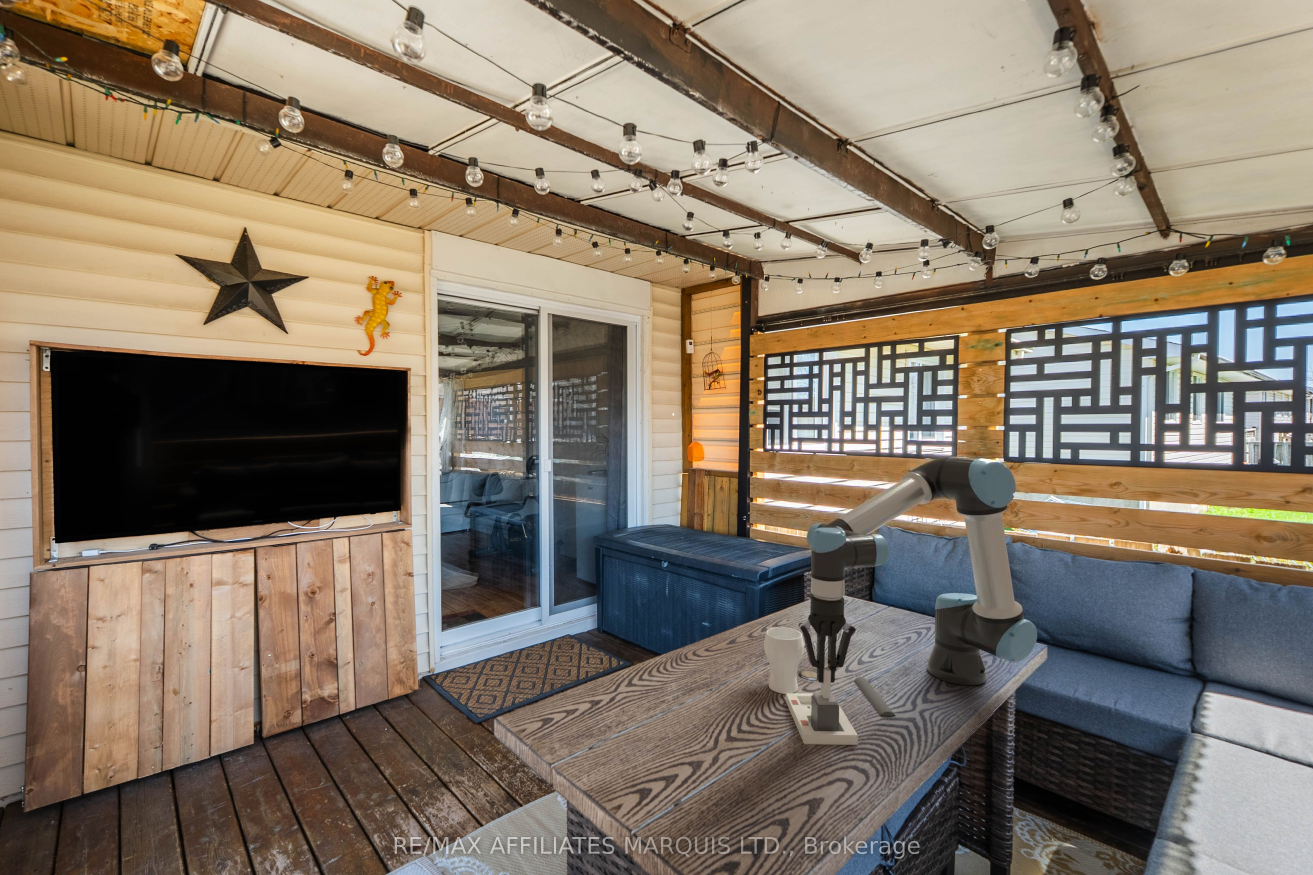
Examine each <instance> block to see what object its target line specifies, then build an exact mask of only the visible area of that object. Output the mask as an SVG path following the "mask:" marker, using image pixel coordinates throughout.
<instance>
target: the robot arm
mask: <svg viewBox="0 0 1313 875" xmlns="http://www.w3.org/2000/svg"><path fill="white" fill-rule="evenodd" d="M1016 486H1017V485H1016V480H1015V477H1014V475H1013V473H1012V470H1011V469H1010V468H1009V467H1008V466H1007V464H1004V463H1003V462H1001V461H999V460H994V459H989V458H985V457H983V458H979V457H977V458H976V457H962V456H961V457H960V456H952V455H951V456H950V455H949V456H941V457H939V458H938V457H937V458H935V459H931V460H930V461H928V462H925V463H923V464H921V465H919V466H916V467H914V468H913V469H912V470H910V471H908V472H906V473H905V474H904V475H903V476H902V479H901V480H900V481H899V482H897V483H895V484H894V485H892V486H890V487H888V488H886V489H885V490H883V491H881V492H880V493H878V494H876V495H875V496H873V497H871V498H870V499H868V500H866V501H865V502H863V503H861V504H859V505H858V506H856V507H855V508H853V509H851V510H850V511H847V512H846V513H844V514H842V515H841V516H839V517H837V518H836V519H834V520H832V521H831V522H829V523H823V522H822V523H819V522H818V523H814V524H812V525H811V526H810V527H809V528H808V531H807V533H806V542H807V544H808V546H809V547H810V549H811V550H810V551H811V552H810V555H811V556H810V564H811V565H810V566H811V567H810V568H811V570H810V571H811V573H810V574H811V575H810V576H811V577H810V593H811V595H810V612H809V615H808V618H807V620H806V621H805V622H803V623H802V622H799V624H798V628H799V629H800V631H801V633H802V637H803V641H804V646H805V649H806V653H807V657H808V662H809V663H810V665H811V666H812V667H813V668H816V679H817V681H818V683H819V684H820V693H821V694H822V696H823V698H830V693H831V687H832V686H831V685H832V683H833V684H834V683H835V680H836V671H837V670H838V669H839V668H843V667H844V665H845V661H846V658H847V653H848V651H849V650H848V649H849V646H850V642H851V638H852V636H853V635H854V634H855V632H856V627H854V625H853V624H852V623H850V622H847V620H846V617H845V598H844V596H845V581H846V580H845V577H846V576H845V575H846V570H848V569H860V568H875V567H878V566H883V565H884V564H886V563H887V562H888V560H889V558H890V545H889V542H888V541H887V539H886V538H885V537H884V536H883V535H881V534H878V533H874V534H873V532H875V531H876V530H878V529H880V528H881V527H883V526H884V525H886V524H888V523H890V522H892V521H893V520H894V519H896V518H898V517H899V516H901V515H903V514H905V512H907V511H910V510H911V509H913V508H914V507H916V506H918V505H919V504H920V505H926V504H928V503H930V502H931V501H932V502H933V501H935V500H940V499H944V500H945V499H946V500H951V501H955V507H956V511H957V513H958V514H959V515H961V516H962V517H963V518H964V522H965V527H966V528H965V530H966V534H967V541H968V548H969V555H970V561H971V568H972V573H973V581H974V586H975V593H976V594H972V593H962V592H960V593H959V592H951V593H949V592H947V593H942V594H939V595H938V596H937V597H936V599H935V600H936V601H935V607H934V645H933V647H932V649H931V652H930V655H929V658H928V659H927V671H928V672H929V674H930V675H932V676H933V677H935V678H937V679H939V680H942V681H944V682H947V683H951V684H955V685H960V686H979V685H982V684H984V683H986V681H987V669H986V667H985V663H984V660H983V656H982V654H981V651H982V652H985V653H988V654H990V655H992V656H994V657H996V658H997V659H999V660H1005V661H1007V662H1009V663H1019V662H1022V661H1024V660H1025V659H1027V658H1028V657H1029V656H1030V654H1031V653H1032V652H1033V650H1034V648H1035V645H1036V643H1037V640H1038V630H1037V627H1036V625H1035V624H1034V623H1033V622H1032V621H1030V620H1029V619H1025V617H1024V615H1025V614H1024V610H1023V606H1022V604H1020V602H1018V601H1016V600H1015V595H1014V588H1013V581H1012V576H1011V575H1012V574H1011V568H1010V560H1009V555H1008V546H1007V541H1006V533H1005V529H1004V528H1005V526H1004V520H1003V515H1004V513H1006V512H1007V511H1008V507H1009V506H1008V505H1010V503H1012V501H1013V499H1014V498H1015V495H1014V494H1015V493H1016V489H1017V487H1016ZM811 627H812V629H813V630H814V631H815V633H816V656H815V651H814V650H815V649H814V647H813V642H812V637H811V634H810V632H811ZM841 630H842V634H841V637H840V642H839V643H838V644H839V646H838V648H837V642H838V640H837V639H838V634H839V633H840V632H841ZM826 639H827V665H825V659H826V656H825V655H826ZM837 668H838V669H837Z"/></svg>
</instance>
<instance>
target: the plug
mask: <svg viewBox="0 0 1313 875" xmlns="http://www.w3.org/2000/svg"><path fill="white" fill-rule="evenodd" d="M812 693H813V695H811V726H812V728H813V730H814V731H839V706H840V704H839V701H838V700H837V698H836V697H835V696H834V694H833V693H832V692H830V698H823V696H822V694H821V692H812Z"/></svg>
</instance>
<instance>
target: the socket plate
mask: <svg viewBox="0 0 1313 875" xmlns="http://www.w3.org/2000/svg"><path fill="white" fill-rule="evenodd" d="M813 693H814V692H812V693H810V692H809V693H806V692H805V693H803V692H802V693H798V692H794V693H786V694H785V703H786V704H787V705H786V706H787V707H788V710H789V713H790V714H791V716H792V719H793V721H794V723H795V726H796V728H797V731H798V732H799V736H800V738H801V739H802V742H803V744H804V745H841V746H842V745H845V746H846V745H848V746H850V745H851V746H858V745H859V744H858V743H859V742H858V741H859V738H858V736H859V735H858V733H857V732H856V730H855V729H854V727H853V725H852V723H851V722H850V720H849V719H848V717H847V715H846V714H845V712H844V710H843V709H842V707H841V706H840V705H839V731H814V730H813V728H812V726H811V695H813Z"/></svg>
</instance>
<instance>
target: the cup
mask: <svg viewBox="0 0 1313 875" xmlns="http://www.w3.org/2000/svg"><path fill="white" fill-rule="evenodd" d="M763 649H764V653H765V656H766V659H767V662H768V664H769V667H770V676H769V682H768V687H769V689H770V690H771V691H774V692H776V693H779V694H784V695H786V693H797V691H798V689H799V687H798V678H797V672H798V667H799V665H800V663H801V661H802V659H803V656H804V651H805V641H804V636H803V633H802V631H801V632H800V630H797V629H795V628H791V627H784V626H778V627H771V628H768V629H767V630H766V632H765V635H764V641H763Z"/></svg>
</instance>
